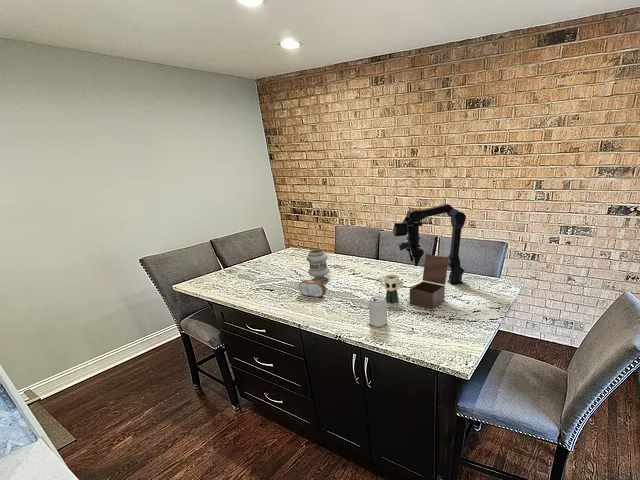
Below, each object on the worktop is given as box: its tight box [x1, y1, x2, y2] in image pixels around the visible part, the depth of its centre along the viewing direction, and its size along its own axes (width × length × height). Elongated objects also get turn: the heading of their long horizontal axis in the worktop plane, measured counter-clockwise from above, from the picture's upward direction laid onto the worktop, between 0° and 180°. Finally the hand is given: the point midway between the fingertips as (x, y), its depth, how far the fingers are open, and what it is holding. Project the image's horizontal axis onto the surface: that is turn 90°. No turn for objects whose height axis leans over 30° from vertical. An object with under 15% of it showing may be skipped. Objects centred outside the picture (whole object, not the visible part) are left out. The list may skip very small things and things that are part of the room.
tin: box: [298, 279, 327, 298], centre depth 175 cm, size 15×3×8 cm, turn 71°
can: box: [368, 295, 388, 328], centre depth 144 cm, size 8×8×12 cm
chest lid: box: [422, 253, 449, 286], centre depth 167 cm, size 13×13×1 cm
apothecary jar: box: [306, 248, 330, 284], centre depth 196 cm, size 12×12×18 cm
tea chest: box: [409, 281, 446, 310], centre depth 166 cm, size 13×13×8 cm
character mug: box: [380, 273, 404, 303], centre depth 167 cm, size 11×7×13 cm, turn 83°
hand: (413, 263), depth 181 cm, fingers open, 9 cm apart
